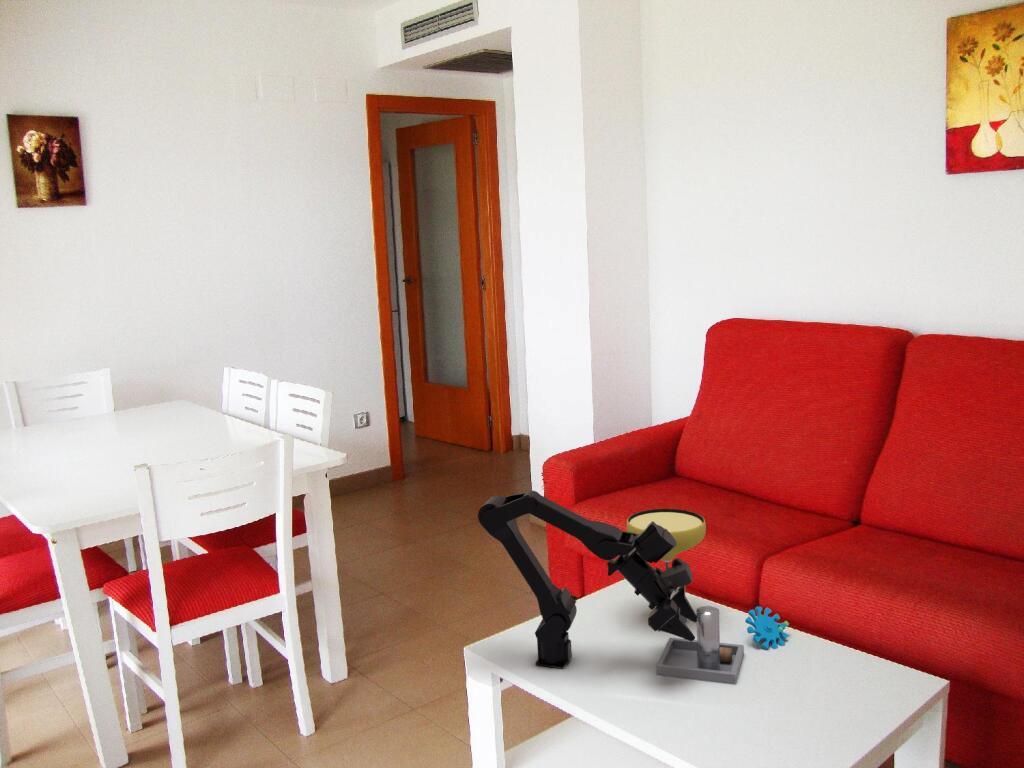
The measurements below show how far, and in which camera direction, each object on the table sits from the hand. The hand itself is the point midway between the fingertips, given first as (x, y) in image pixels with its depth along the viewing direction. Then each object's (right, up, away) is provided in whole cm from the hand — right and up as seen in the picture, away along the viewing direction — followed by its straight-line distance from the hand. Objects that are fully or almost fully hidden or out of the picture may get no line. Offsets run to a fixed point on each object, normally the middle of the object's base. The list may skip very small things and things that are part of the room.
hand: (695, 630), depth 197 cm
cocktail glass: (-1, -5, +26) cm, 27 cm away
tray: (+2, -9, +3) cm, 9 cm away
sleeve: (+3, -8, +1) cm, 9 cm away
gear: (+18, -6, +13) cm, 23 cm away
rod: (+5, -7, +6) cm, 10 cm away
